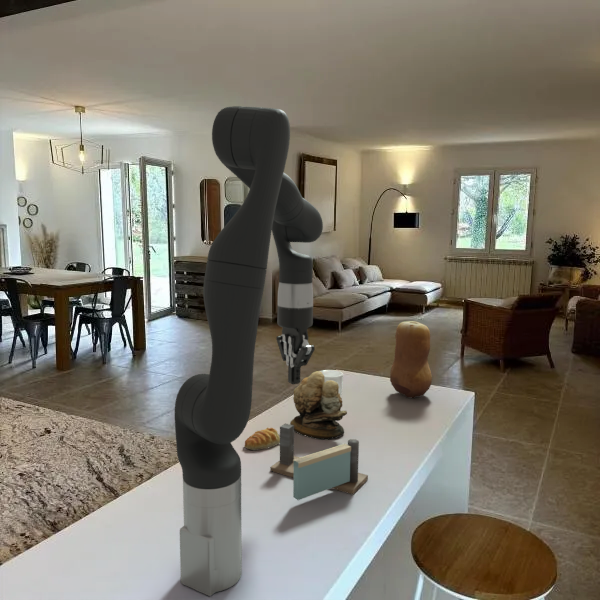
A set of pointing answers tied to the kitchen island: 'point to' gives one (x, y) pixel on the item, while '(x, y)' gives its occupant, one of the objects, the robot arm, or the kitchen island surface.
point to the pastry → (263, 439)
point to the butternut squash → (411, 360)
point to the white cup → (334, 378)
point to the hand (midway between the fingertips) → (294, 382)
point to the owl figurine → (318, 408)
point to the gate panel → (321, 471)
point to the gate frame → (287, 457)
